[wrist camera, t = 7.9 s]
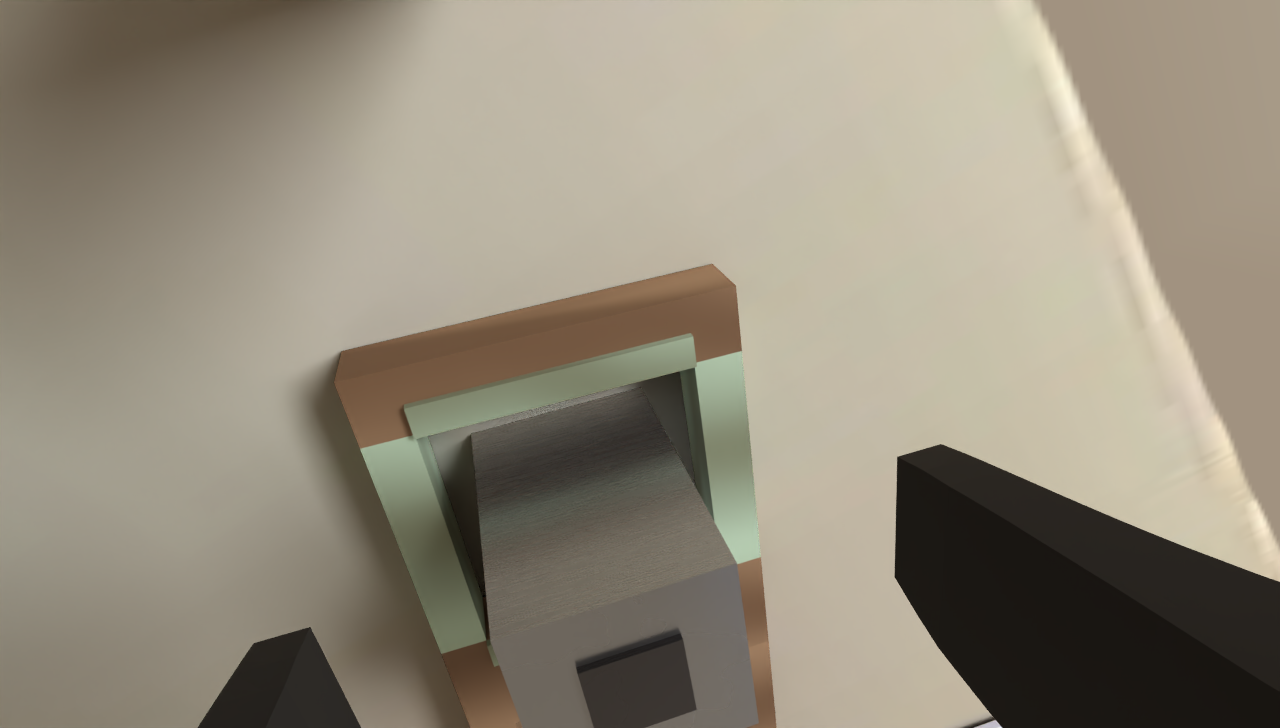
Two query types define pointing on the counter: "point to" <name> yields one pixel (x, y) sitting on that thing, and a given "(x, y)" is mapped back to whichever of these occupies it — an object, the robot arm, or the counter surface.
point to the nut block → (608, 575)
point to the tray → (535, 377)
